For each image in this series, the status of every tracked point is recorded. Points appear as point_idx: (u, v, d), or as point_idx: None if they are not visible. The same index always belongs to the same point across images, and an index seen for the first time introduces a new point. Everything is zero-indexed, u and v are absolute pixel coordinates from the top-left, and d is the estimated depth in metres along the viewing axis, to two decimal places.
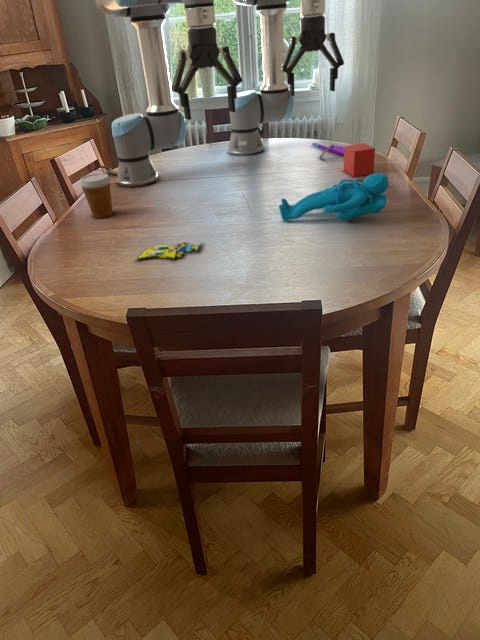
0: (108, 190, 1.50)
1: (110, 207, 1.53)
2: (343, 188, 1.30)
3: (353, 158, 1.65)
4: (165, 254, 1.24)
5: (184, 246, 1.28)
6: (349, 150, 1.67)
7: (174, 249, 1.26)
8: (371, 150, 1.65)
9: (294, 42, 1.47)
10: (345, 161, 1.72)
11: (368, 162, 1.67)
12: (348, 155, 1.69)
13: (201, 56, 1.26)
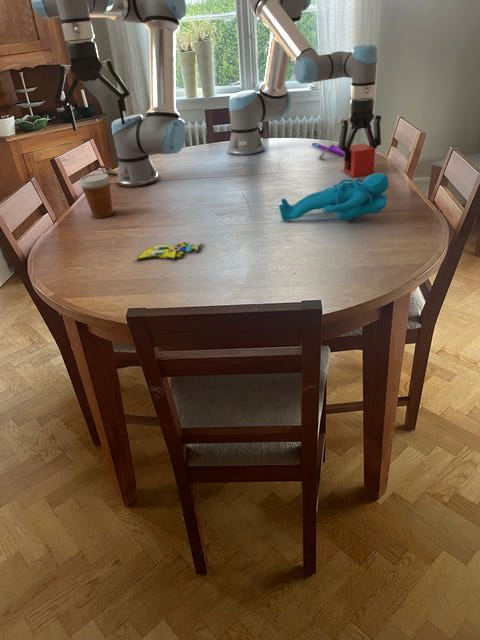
0: (108, 190, 1.50)
1: (110, 207, 1.53)
2: (343, 188, 1.30)
3: (353, 158, 1.65)
4: (165, 254, 1.24)
5: (184, 246, 1.28)
6: (349, 150, 1.67)
7: (174, 249, 1.26)
8: (371, 150, 1.65)
9: (346, 124, 1.61)
10: None
11: (368, 162, 1.67)
12: None
13: (80, 69, 1.28)
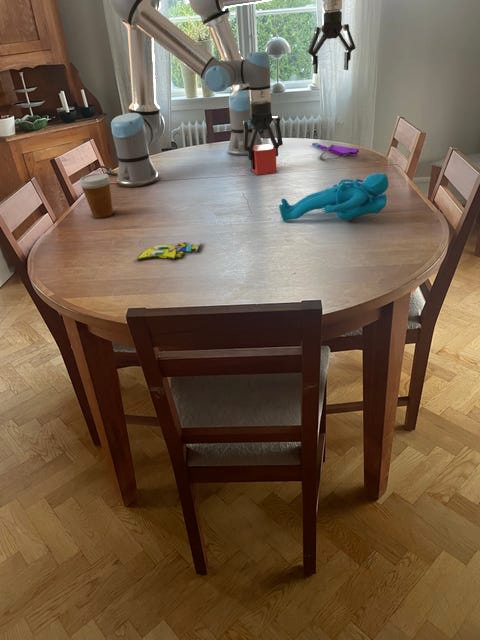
0: (108, 190, 1.50)
1: (110, 207, 1.53)
2: (343, 188, 1.30)
3: (255, 157, 1.76)
4: (165, 254, 1.24)
5: (184, 246, 1.28)
6: (253, 150, 1.78)
7: (174, 249, 1.26)
8: (272, 150, 1.75)
9: (318, 31, 1.90)
10: None
11: (270, 161, 1.77)
12: None
13: (258, 122, 1.71)
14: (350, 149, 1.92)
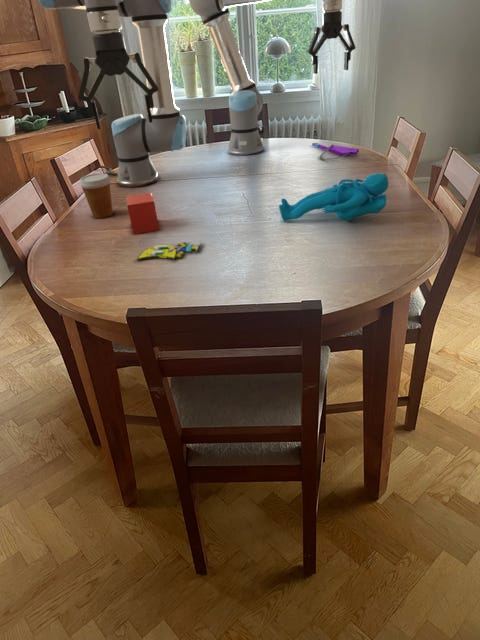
0: (108, 190, 1.50)
1: (110, 207, 1.53)
2: (343, 188, 1.30)
3: None
4: (165, 254, 1.24)
5: (184, 246, 1.28)
6: None
7: (174, 249, 1.26)
8: (149, 203, 1.36)
9: (318, 31, 1.90)
10: None
11: (149, 217, 1.38)
12: None
13: (106, 63, 1.18)
14: (350, 149, 1.92)
